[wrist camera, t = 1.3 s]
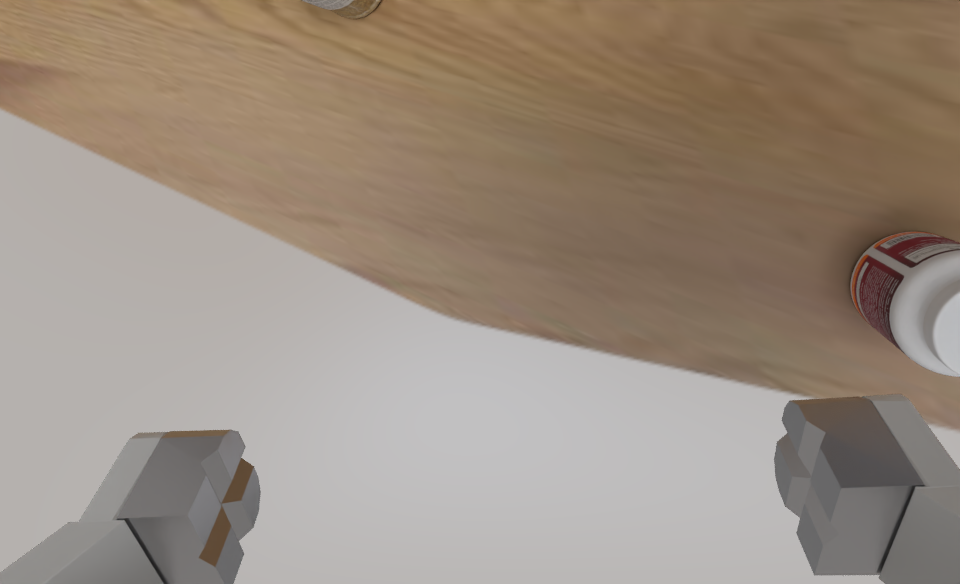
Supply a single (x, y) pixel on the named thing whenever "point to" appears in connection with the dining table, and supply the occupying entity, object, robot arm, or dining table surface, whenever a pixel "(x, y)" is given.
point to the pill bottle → (913, 296)
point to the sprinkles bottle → (347, 7)
